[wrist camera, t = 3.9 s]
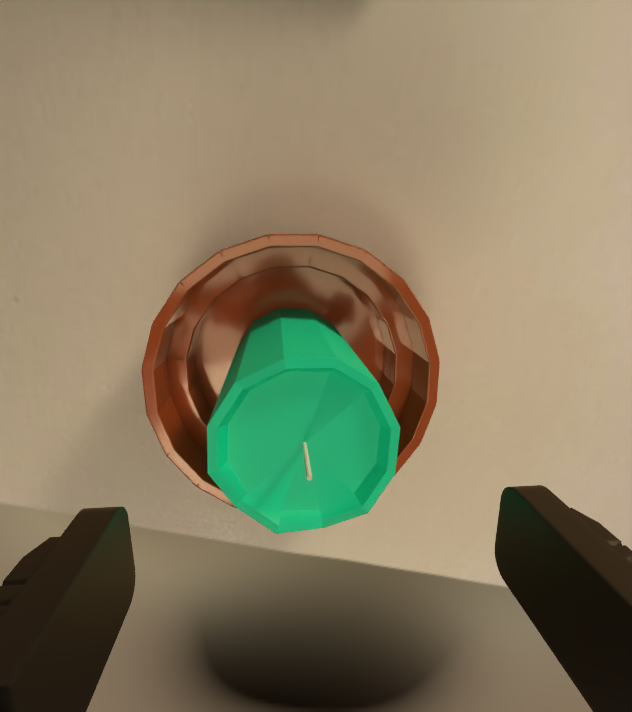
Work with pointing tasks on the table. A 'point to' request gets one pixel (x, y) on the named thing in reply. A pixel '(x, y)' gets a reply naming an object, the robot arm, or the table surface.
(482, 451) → the table surface
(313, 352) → the candle
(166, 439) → the bowl
